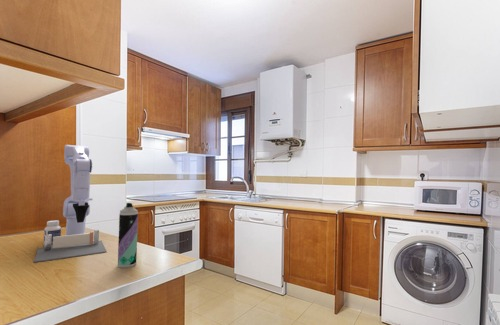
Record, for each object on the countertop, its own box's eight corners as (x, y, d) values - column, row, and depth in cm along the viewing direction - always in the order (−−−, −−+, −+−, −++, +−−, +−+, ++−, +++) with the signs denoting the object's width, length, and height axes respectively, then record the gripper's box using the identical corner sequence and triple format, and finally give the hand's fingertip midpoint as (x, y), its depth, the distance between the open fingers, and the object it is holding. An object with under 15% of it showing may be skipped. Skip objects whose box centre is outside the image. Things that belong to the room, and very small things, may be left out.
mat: (38, 248, 99) (38, 247, 99) (101, 241, 111) (101, 240, 111) (33, 262, 85) (33, 261, 85) (106, 252, 97) (106, 251, 97)
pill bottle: (63, 244, 106) (64, 220, 107) (52, 247, 101) (53, 222, 102) (51, 243, 107) (52, 219, 107) (39, 247, 102) (41, 222, 102)
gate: (52, 248, 97) (53, 236, 97) (52, 247, 98) (53, 235, 99) (93, 243, 105) (93, 232, 105) (92, 242, 106) (93, 231, 106)
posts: (44, 250, 97) (45, 234, 97) (98, 244, 107) (98, 229, 107) (44, 252, 96) (44, 235, 96) (98, 245, 106) (99, 230, 106)
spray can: (113, 267, 82) (116, 203, 83) (124, 261, 87) (126, 201, 88) (129, 268, 81) (132, 204, 82) (139, 262, 86) (141, 202, 87)
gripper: (94, 189, 104) (92, 223, 103) (91, 187, 115) (90, 217, 115) (72, 189, 99) (71, 225, 99) (72, 187, 111) (71, 219, 111)
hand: (80, 221), depth 107 cm, fingers open, 4 cm apart
